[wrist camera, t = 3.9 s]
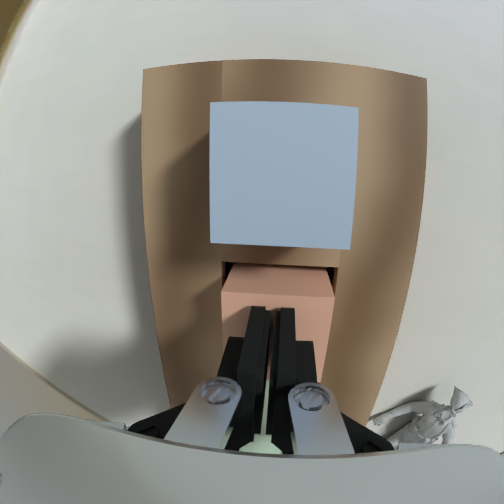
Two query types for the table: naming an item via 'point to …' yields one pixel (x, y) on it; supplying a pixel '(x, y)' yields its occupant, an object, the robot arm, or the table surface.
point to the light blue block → (282, 173)
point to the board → (344, 261)
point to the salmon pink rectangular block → (280, 302)
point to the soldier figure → (427, 420)
